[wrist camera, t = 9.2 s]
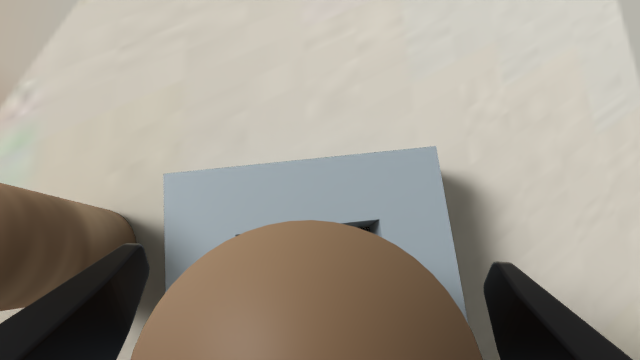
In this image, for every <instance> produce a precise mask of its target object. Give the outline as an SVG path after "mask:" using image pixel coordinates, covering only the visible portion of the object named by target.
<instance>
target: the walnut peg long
mask: <svg viewBox="0 0 640 360" xmlns="http://www.w3.org/2000/svg"><path fill="white" fill-rule="evenodd" d="M131 360H483V359H482V356H481V354H480V351H479V348H478V346H477V343H476V340H475V338H474V335H473V333H472V331H471V329H470V327H469V325H468V323H467V321H466V319H465V317H464V315H463V314H462V312H461V310H460V309H459V307H458V306H457V304H456V303H455V301H454V300H453V298H452V297H451V295H450V294H449V292H448V291H447V290H446V289H445V288H444V287H443V285H442V284H441V283H440V282H439V281H438V280H437V279H436V277H435V276H434V275H433V274H432V273H431V272H430V271H429V270H428V269H427V268H425V267H424V266H423V265H422V264H421V263H420V262H419V261H418V260H417V259H415V258H414V257H413V256H411V255H410V254H408V253H407V252H406V251H404V250H403V249H401V248H400V247H398V246H397V245H395V244H393V243H391V242H389V241H388V240H386V239H384V238H382V237H380V236H378V235H376V234H373V233H371V232H368V231H365V230H362V229H360V228H357V227H354V226H349V225H345V224H340V223H336V222H328V221H317V220H301V221H287V222H281V223H275V224H269V225H266V226H262V227H259V228H256V229H253V230H249V231H246V232H244V233H242V234H240V235H238V236H236V237H233V238H231V239H229V240H227V241H225V242H223V243H222V244H220V245H219V246H217V247H215V248H214V249H212V250H210V251H209V252H207V253H206V254H205V255H203V256H202V257H201V258H200V259H198V260H197V261H196V262H195V263H193V264H192V265H191V266H190V267H189V268H188V269H187V270H186V271H185V272H184V273H183V274H182V275H181V276H180V277H179V278H178V279H177V280H176V281H175V282H174V283H173V284H172V285H171V286H170V288H169V289H168V290H167V292H166V293H165V294H164V296H163V297H162V298H161V300H160V301H159V302H158V303H157V305H156V307H155V308H154V310H153V312H152V313H151V315H150V317H149V318H148V320H147V322H146V324H145V325H144V327H143V330H142V332H141V334H140V336H139V339H138V341H137V343H136V345H135V348H134V350H133V353H132V356H131Z"/></svg>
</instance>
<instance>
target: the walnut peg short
mask: <svg viewBox="0 0 640 360" xmlns="http://www.w3.org/2000/svg"><path fill="white" fill-rule="evenodd" d="M126 243H131V244H136V239H135V235H134V232H133V230H132V228H131V226H130V225H129V223H128V222H127V221H126V220H125V219H124V218H123V217H122V216H120V215H119V214H117V213H115V212H113V211H110V210H106V209H102V208H98V207H94V206H90V205H87V204H83V203H79V202H75V201H71V200H67V199H63V198H59V197H55V196H51V195H47V194H43V193H39V192H35V191H31V190H27V189H23V188H19V187H15V186H11V185H7V184H3V183H0V311H4V310H10V309H17V308H23V307H27V306H28V305H30V304H32V303H33V302H35V301H36V300H38V299H39V298H41V297H42V296H44V295H45V294H47V293H49V292H50V291H52V290H53V289H55V288H56V287H58V286H59V285H61V284H63V283H64V282H66V281H67V280H69V279H70V278H72V277H73V276H75V275H76V274H78V273H80V272H81V271H83V270H84V269H86V268H87V267H89V266H90V265H92V264H93V263H95V262H97V261H98V260H100V259H101V258H103V257H104V256H106V255H107V254H109V253H110V252H112V251H114V250H115V249H117V248H118V247H120V246H121V245H123V244H126Z"/></svg>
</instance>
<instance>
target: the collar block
mask: <svg viewBox="0 0 640 360" xmlns="http://www.w3.org/2000/svg"><path fill="white" fill-rule="evenodd" d="M163 176H164V234H165V291H166V292H167V290H168V289H169V288H170V286H171V285H172V284H173V283H174V282H175V281H176V280H177V279H178V278H179V277H180V276H181V275H182V274H183V273H184V272H185V271H186V270H187V269H188V268H189V267H190V266H191V265H192V264H193V263H195V262H196V261H197V260H198V259H200V258H201V257H202V256H203V255H205V254H206V253H207V252H209V251H210V250H212V249H214V248H215V247H217V246H219V245H220V244H222V243H223V242H225V241H227V240H229V239H231V238H233V237H236V236H238V235H240V234H242V233H244V232H246V231H249V230H253V229H256V228H259V227H262V226H266V225H269V224H275V223H281V222H287V221H301V220H317V221H328V222H336V223H340V224H345V225H349V226H354V227H357V228H359V227H369V230H370V232H371V233H373V234H376V235H378V236H380V237H382V238H384V239H386V240H388V241H389V242H391V243H393V244H395V245H397V246H398V247H400V248H401V249H403V250H404V251H406V252H407V253H408V254H410V255H411V256H413V257H414V258H415V259H417V260H418V261H419V262H420V263H421V264H422V265H423V266H424V267H425V268H427V269H428V270H429V271H430V272H431V273H432V274H433V275H434V276H435V277H436V279H437V280H438V281H439V282H440V283H441V284H442V285H443V287H444V288H445V289H446V290H447V291H448V292H449V294H450V295H451V297H452V298H453V300H454V301H455V303H456V304H457V306H458V307H459V309H460V310H461V312H462V314H463V315H464V317H465V319H466V321H467V323H468V319H467V314H466V309H465V303H464V298H463V292H462V287H461V281H460V276H459V270H458V265H457V259H456V254H455V248H454V243H453V237H452V232H451V226H450V221H449V215H448V210H447V204H446V199H445V193H444V188H443V182H442V177H441V171H440V166H439V160H438V155H437V149H436V146H433V147H423V148H413V149H403V150H393V151H383V152H374V153H364V154H354V155H344V156H334V157H324V158H315V159H305V160H295V161H285V162H275V163H265V164H256V165H246V166H236V167H226V168H216V169H206V170H197V171H187V172H177V173H167V174H163Z"/></svg>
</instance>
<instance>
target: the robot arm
mask: <svg viewBox="0 0 640 360" xmlns="http://www.w3.org/2000/svg"><path fill="white" fill-rule="evenodd" d="M148 276H149V264H148V261H147V257H146V254H145V251H144V248H143V246H142V245H141V244H131V243H126V244H123V245H121V246H120V247H118V248H117V249H115V250H114V251H112V252H110V253H109V254H107V255H106V256H104V257H103V258H101V259H100V260H98V261H97V262H95V263H93V264H92V265H90V266H89V267H87V268H86V269H84V270H83V271H81V272H80V273H78V274H76V275H75V276H73V277H72V278H70V279H69V280H67V281H66V282H64V283H63V284H61V285H59V286H58V287H56V288H55V289H53V290H52V291H50V292H49V293H47V294H45V295H44V296H42V297H41V298H39V299H38V300H36V301H35V302H33V303H32V304H30V305H28V306H27V307H25V308H24V309H22V310H21V311H19V312H18V313H16V314H15V315H13V316H11V317H10V318H8V319H7V320H5V321H4V322H2V323H1V324H0V360H116V359H117V357H118V355H119V353H120V351H121V348H122V346H123V344H124V342H125V340H126V338H127V335H128V333H129V331H130V328H131V325H132V323H133V320H134V317H135V314H136V311H137V308H138V305H139V302H140V299H141V296H142V293H143V290H144V288H145V285H146V282H147V279H148ZM484 295H485V300H486V304H487V308H488V312H489V317H490V321H491V325H492V330H493V334H494V338H495V342H496V346H497V350H498V353H499V356H500V359H501V360H633V359H631V358H630V357H629V356H628V355H626V354H625V353H624V352H623V351H621V350H620V349H619V348H618V347H616V346H615V345H614V344H612V343H611V342H610V341H609V340H607V339H606V338H605V337H604V336H602V335H601V334H600V333H599V332H597V331H596V330H595V329H594V328H592V327H591V326H590V325H589V324H587V323H586V322H585V321H584V320H582V319H581V318H580V317H579V316H577V315H576V314H575V313H574V312H572V311H571V310H570V309H569V308H567V307H566V306H565V305H564V304H562V303H561V302H560V301H558V300H557V299H556V298H555V297H553V296H552V295H551V294H550V293H548V292H547V291H546V290H545V289H543V288H542V287H541V286H540V285H538V284H537V283H536V282H535V281H533V280H532V279H531V278H530V277H528V276H527V275H526V274H525V273H523V272H522V271H521V270H520V269H518V268H517V267H516V266H515V265H513V264H512V263H509V262H494V263H493V264H492V265H491V268H490V270H489V273H488V275H487V278H486V280H485V283H484Z"/></svg>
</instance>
